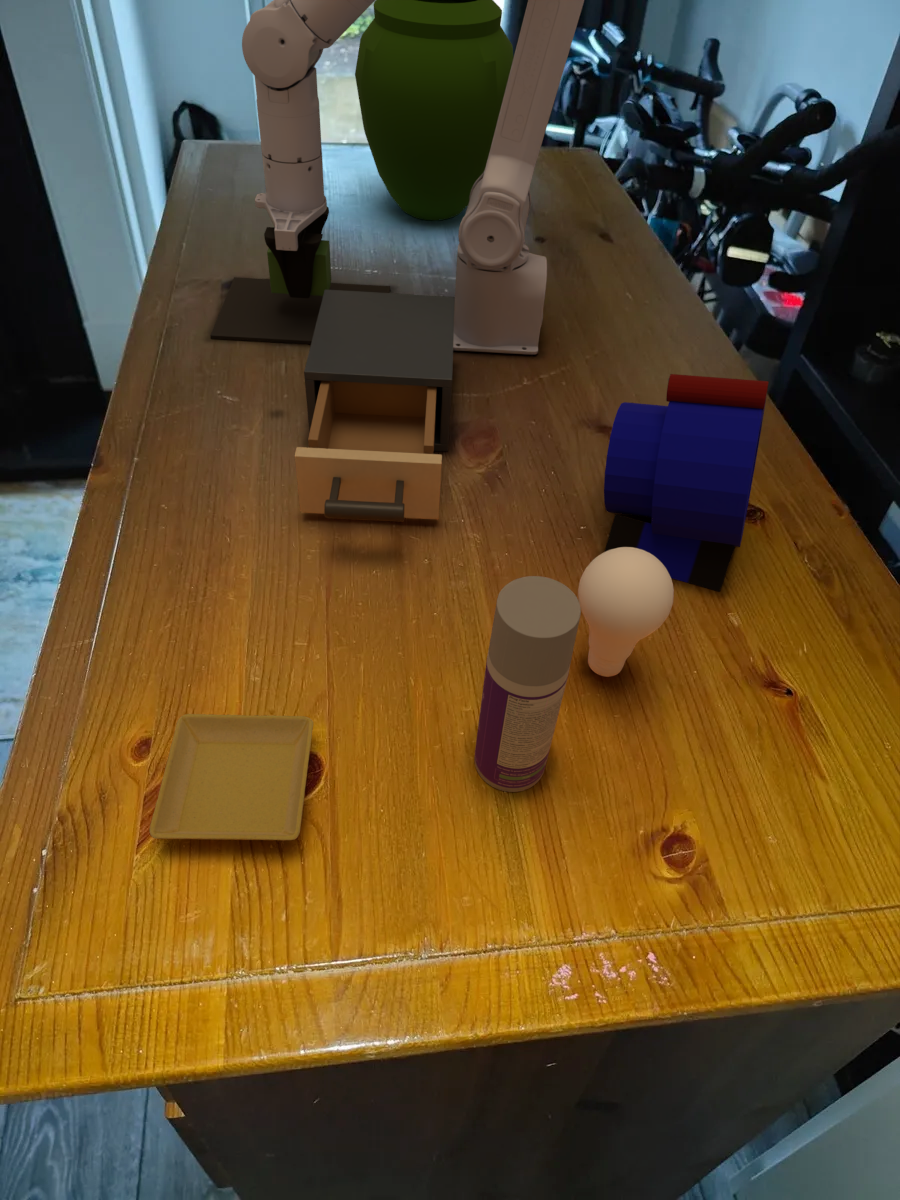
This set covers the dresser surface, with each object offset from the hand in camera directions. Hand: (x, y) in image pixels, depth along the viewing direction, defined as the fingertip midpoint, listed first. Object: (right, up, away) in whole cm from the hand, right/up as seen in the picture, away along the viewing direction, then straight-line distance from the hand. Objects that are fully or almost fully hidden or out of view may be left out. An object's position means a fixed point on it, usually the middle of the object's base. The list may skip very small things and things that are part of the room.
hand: (302, 287), depth 91 cm
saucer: (+3, -46, -38) cm, 60 cm away
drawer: (+9, -24, -18) cm, 31 cm away
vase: (+13, +19, +23) cm, 32 cm away
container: (+20, -44, -36) cm, 60 cm away
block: (0, 0, 0) cm, 0 cm away
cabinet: (+10, -15, -9) cm, 20 cm away
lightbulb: (+27, -39, -30) cm, 56 cm away
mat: (0, -2, +2) cm, 3 cm away
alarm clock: (+34, -28, -19) cm, 48 cm away
